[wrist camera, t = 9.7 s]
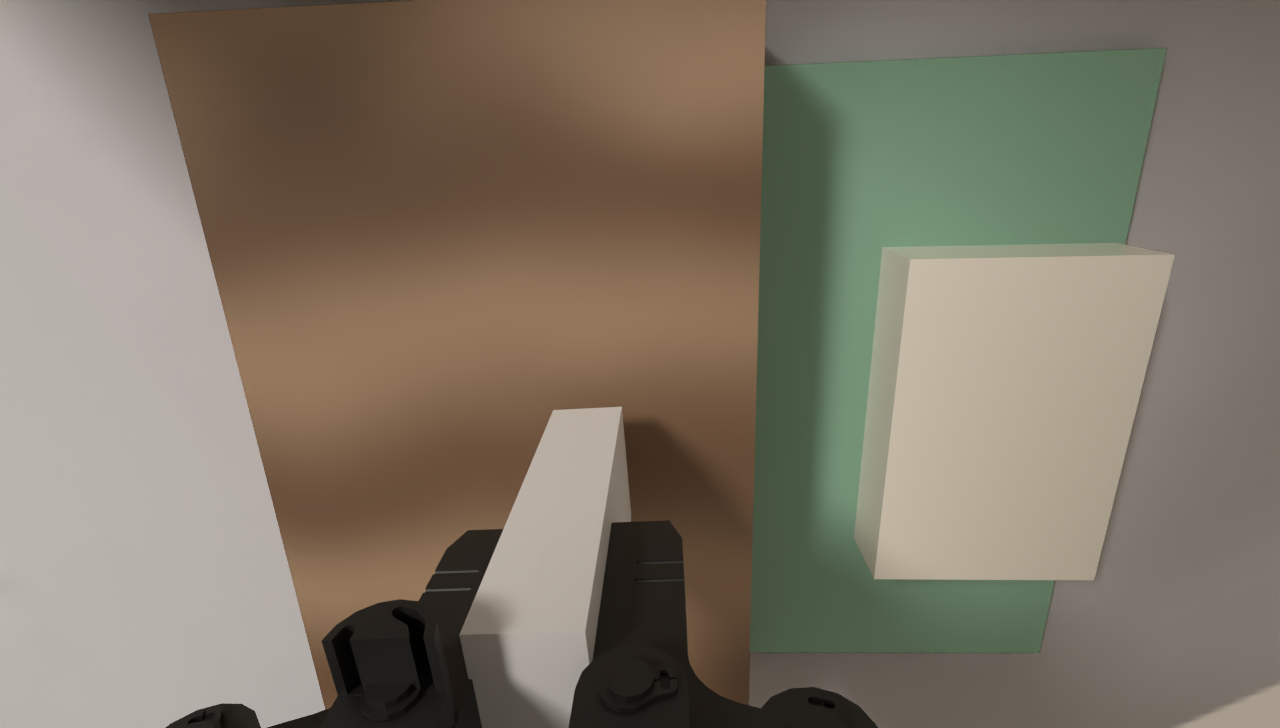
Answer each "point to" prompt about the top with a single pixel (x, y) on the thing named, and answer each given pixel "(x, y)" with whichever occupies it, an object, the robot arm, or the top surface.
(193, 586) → the top surface
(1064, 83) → the mat
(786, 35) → the top surface
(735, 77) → the wood grain block
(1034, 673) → the top surface
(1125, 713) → the top surface
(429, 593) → the robot arm
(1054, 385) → the tile
